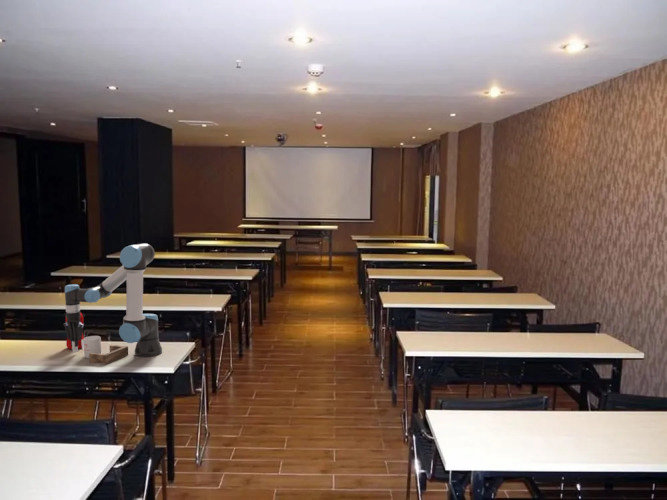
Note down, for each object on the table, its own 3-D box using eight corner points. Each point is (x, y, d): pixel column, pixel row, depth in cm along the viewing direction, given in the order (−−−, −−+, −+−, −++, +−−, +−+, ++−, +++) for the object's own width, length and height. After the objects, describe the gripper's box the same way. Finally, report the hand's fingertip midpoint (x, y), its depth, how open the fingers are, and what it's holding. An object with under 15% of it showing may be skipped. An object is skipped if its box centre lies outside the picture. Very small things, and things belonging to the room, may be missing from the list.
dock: (128, 354, 336) (127, 346, 335) (106, 364, 318) (105, 355, 317) (112, 353, 339) (111, 344, 338) (89, 362, 321) (89, 353, 320)
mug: (104, 355, 334) (104, 336, 333) (93, 359, 326) (92, 340, 325) (88, 353, 338) (87, 334, 337) (76, 357, 330) (75, 338, 329)
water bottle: (79, 344, 358) (77, 304, 355) (86, 347, 350) (84, 306, 348) (63, 347, 352) (61, 306, 349) (70, 350, 344) (68, 309, 341)
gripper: (87, 311, 334) (89, 351, 337) (68, 309, 338) (70, 349, 341) (77, 313, 327) (79, 354, 330) (58, 312, 331) (61, 352, 333)
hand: (75, 352), depth 335 cm, fingers closed
